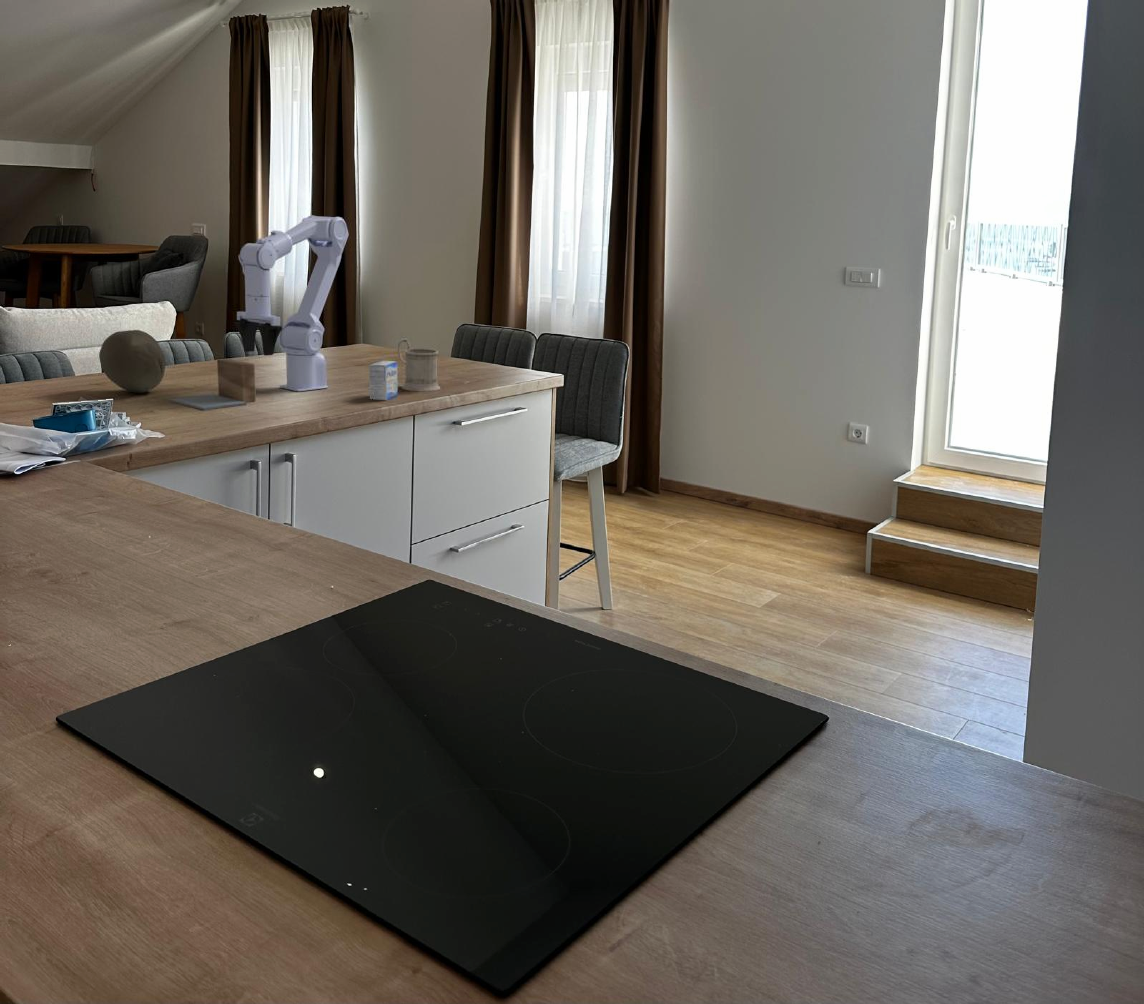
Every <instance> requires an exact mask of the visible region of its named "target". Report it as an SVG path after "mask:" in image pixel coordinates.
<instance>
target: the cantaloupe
mask: <svg viewBox="0 0 1144 1004" xmlns="http://www.w3.org/2000/svg"><path fill="white" fill-rule="evenodd" d="M98 357H99V363H100V366H101V369H102V371H103V373H104V375H106V377H107V378H108V379H109V380H110V381H111V382H112V383H114V384H115V385H116V386H118V388H120V389H122V390H125V391H127V392H131V393H136V394H137V393H138V394H143V393H147V392H149V391H151V390H153V389H155V388H157V386H159V385H160V383H162V381H163V378H164V375H165V371H166V357H165V354H164V352H163V349H162V348H161V346H160V345H159V342H158V341H157V340H156V338H155V337H153V336H152V335H151V334H150V333H147V332H146V331H143V330H140V329H134V330H133V329H131V330H129V329H128V330H119V331H115V332H113V333H111V334H110V335H109V336H108V337H107V338H106V339H105V340H104V341H103V343H102V344H101V347H100V350H99V354H98Z"/></svg>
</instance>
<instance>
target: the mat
mask: <svg viewBox="0 0 1144 1004" xmlns="http://www.w3.org/2000/svg"><path fill="white" fill-rule="evenodd" d="M169 401H170V402H172V403H176V404H180V405H184V406H186V407H191V408H195V409H199V410H202V411H208V410H209V411H210V410H216V409H223V408H231V407H232V408H233V407H239V406H240V407H241V406H245V405H247V403H246V402H242V401H238V400H234V399H230V398H226V397H222V396H219V394H218V395H217V394H214V393H209V394H208V393H207V394H202V395H201V394H199V395H192V396H183V397H175V398H170V399H169Z"/></svg>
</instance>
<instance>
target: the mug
mask: <svg viewBox="0 0 1144 1004" xmlns="http://www.w3.org/2000/svg"><path fill="white" fill-rule="evenodd" d="M409 340H410V339H409V338H401V340H400V341H399V343H398V345H397V354H398V358H399V359H400V361H401V362H402V363H403V364H404V365H405V380H404V384H403V385H401V389H403V390H406V391H410V392H434V391H435V392H436V391H439V390H441V387H440V386H439V384H438V354H439V351H438V350H436V349H430V348H411V343H410V342H409ZM403 343H405V344H406V345H407V348H406V349H405V350H404V353H405V360H404V358H403V357H402V355H401V345H402V344H403Z"/></svg>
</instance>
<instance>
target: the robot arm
mask: <svg viewBox="0 0 1144 1004" xmlns="http://www.w3.org/2000/svg"><path fill="white" fill-rule="evenodd" d="M348 238H349V230H348V226H347V223H346V221H345V220H344V218H343V217H340V216H334V217H332V216H319V215H318V216H317V215H308V216H307V217H303V218H302V219H301V222H299V223H297V224H295V226H293V227H291V228H290V229H288V230H287V231H285V232H284V231H281V230H275V229H274V230H272V231H270V235H268V236H265V237H264V238H262V237H260V238H259V239H257V241H256V242H255V243H253V242H252V243H246V244H244V245H243V246H242V247H241V249H240V252H239V254H238V260H239V263H240V265H241V267H242V274H243V275H244V289H245V290H244V291H245V293H244V295H245V296H244V299H245V301H244V302H245V311H236V320H237V321H235V322H234V326H235V327H236V329H237V331H238V333H239V335H240V338H241V342H242V345H243V347H244V351H245V352H246V353H248V352H255V347H256V336H257V330H258V331H259V335H260V337H261V338H260V339H261V344H262V351H263V356H274V353H275V352H274V351H275V347H276V343H277V341H278V343H279V346H280V347H281V348H282V349H283V353H285V357H286V358H285V359H286V361H285V363H286V384H283V385H282V384H281V385H279V388H281V389H286V390H291V391H295V392H305V391H306V392H307V391H311V390H312V391H313V390H319V389H328V388H329V385H327V363H326V359H325V356H324V355H323V354H322V353H321V352H319V351H320V350H321V348H322V345H323V336H324V332H325V328H324V326H323V324H322V323H321V321H320V317H321V314H322V312H323V309H324V306H325V304H326V301H327V298H328V295H329V293H330V290H331V287H332V285H333V283H334V279H335V277H336V274H337V271H338V268H339V266H340V263H341V259H342V254H343V252H344V249H345V246H346V243H347V241H348ZM306 240H307V243H308V244H309V245H310V248H311V250H312V251H313V253H315V254H316V255H317V259H316V262H315V265H314V267H313V270H312V272H311V276H310V278H309V280H308V284H307V287H306V289H305V291H304V294H303V296H302V299H301V302H300V304H299V307H298V309H297V312H296V313H294V314H292V315H291V316H289V317H288V318H287V319H286V322H285V324H284V325H283V326H282V325H281V317H280V316H276V315H273V314H271V312H272V310H271V308H272V307H271V306H272V305H271V269H273V268H274V266H275V264H276V261H279V259H281V258H283V257H285V256H286V255H289V254H291V252H292V250H293V247H294V245H295V246H296V245H297V244H299V243H301V242H304V241H306ZM259 324H260V325H259Z"/></svg>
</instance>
